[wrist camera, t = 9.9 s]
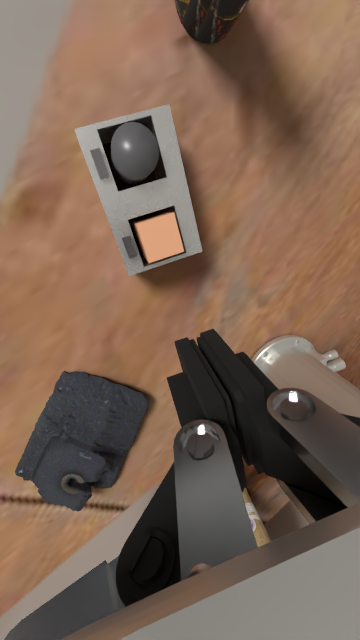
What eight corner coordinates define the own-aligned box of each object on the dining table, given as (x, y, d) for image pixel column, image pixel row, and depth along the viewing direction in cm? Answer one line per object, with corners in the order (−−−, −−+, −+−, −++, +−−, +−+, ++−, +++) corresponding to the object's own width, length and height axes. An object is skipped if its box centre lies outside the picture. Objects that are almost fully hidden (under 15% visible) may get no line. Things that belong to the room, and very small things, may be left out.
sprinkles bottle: (238, 482, 52) (277, 563, 40) (249, 490, 54) (289, 569, 42) (222, 495, 52) (255, 580, 40) (233, 502, 54) (268, 585, 42)
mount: (159, 123, 25) (170, 101, 20) (189, 245, 31) (204, 252, 26) (80, 144, 24) (72, 126, 19) (126, 266, 30) (129, 277, 25)
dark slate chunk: (164, 390, 39) (170, 411, 34) (107, 488, 44) (106, 518, 40) (62, 360, 33) (54, 382, 29) (10, 478, 38) (-3, 511, 34)
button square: (163, 212, 27) (174, 212, 23) (172, 245, 29) (184, 251, 24) (132, 222, 27) (135, 224, 22) (142, 255, 28) (148, 263, 24)
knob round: (143, 134, 24) (150, 116, 19) (155, 178, 26) (164, 171, 21) (104, 144, 24) (103, 128, 19) (119, 188, 25) (121, 183, 21)
